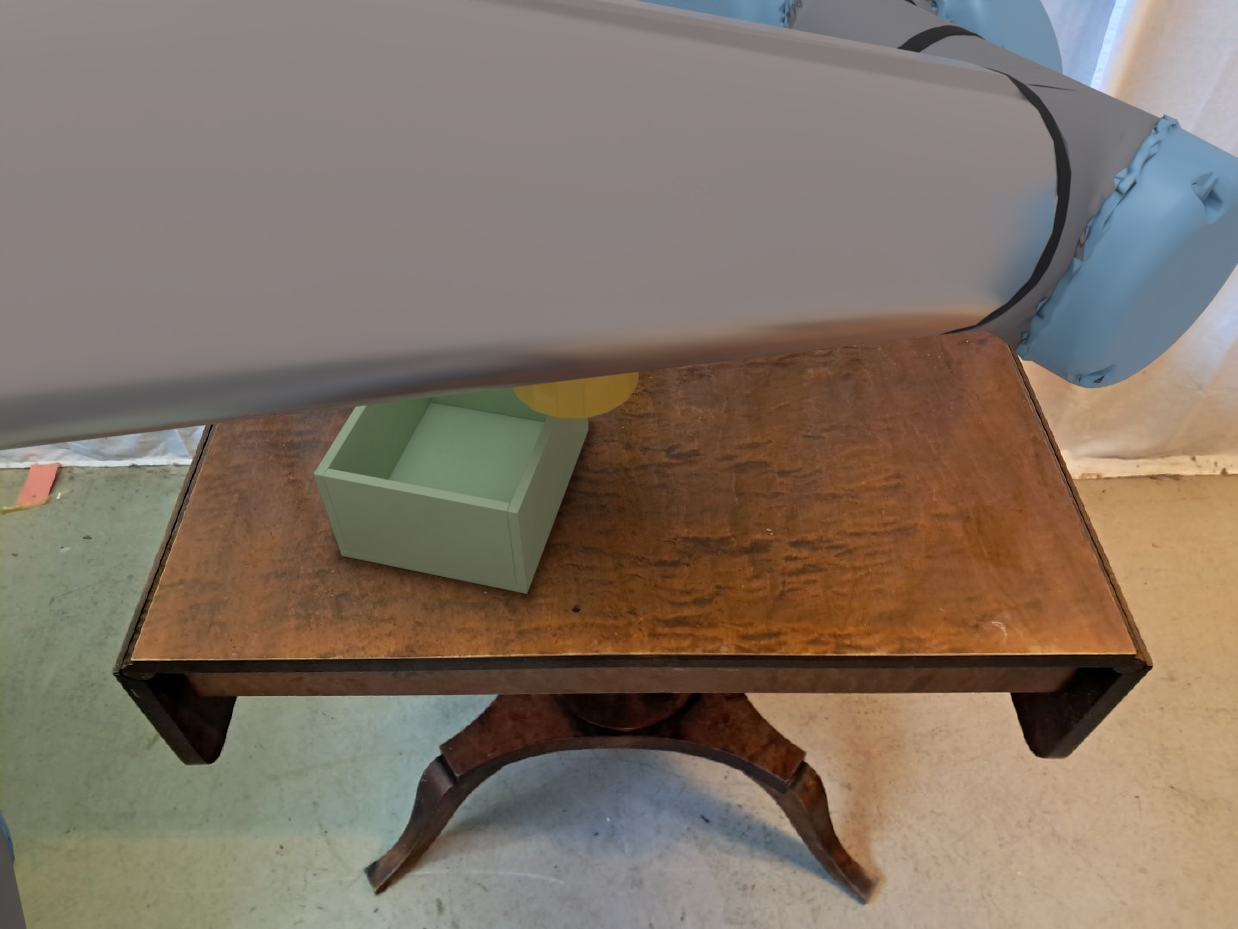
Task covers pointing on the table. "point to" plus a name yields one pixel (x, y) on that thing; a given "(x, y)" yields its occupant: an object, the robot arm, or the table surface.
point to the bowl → (579, 395)
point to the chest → (450, 485)
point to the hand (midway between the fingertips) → (536, 325)
